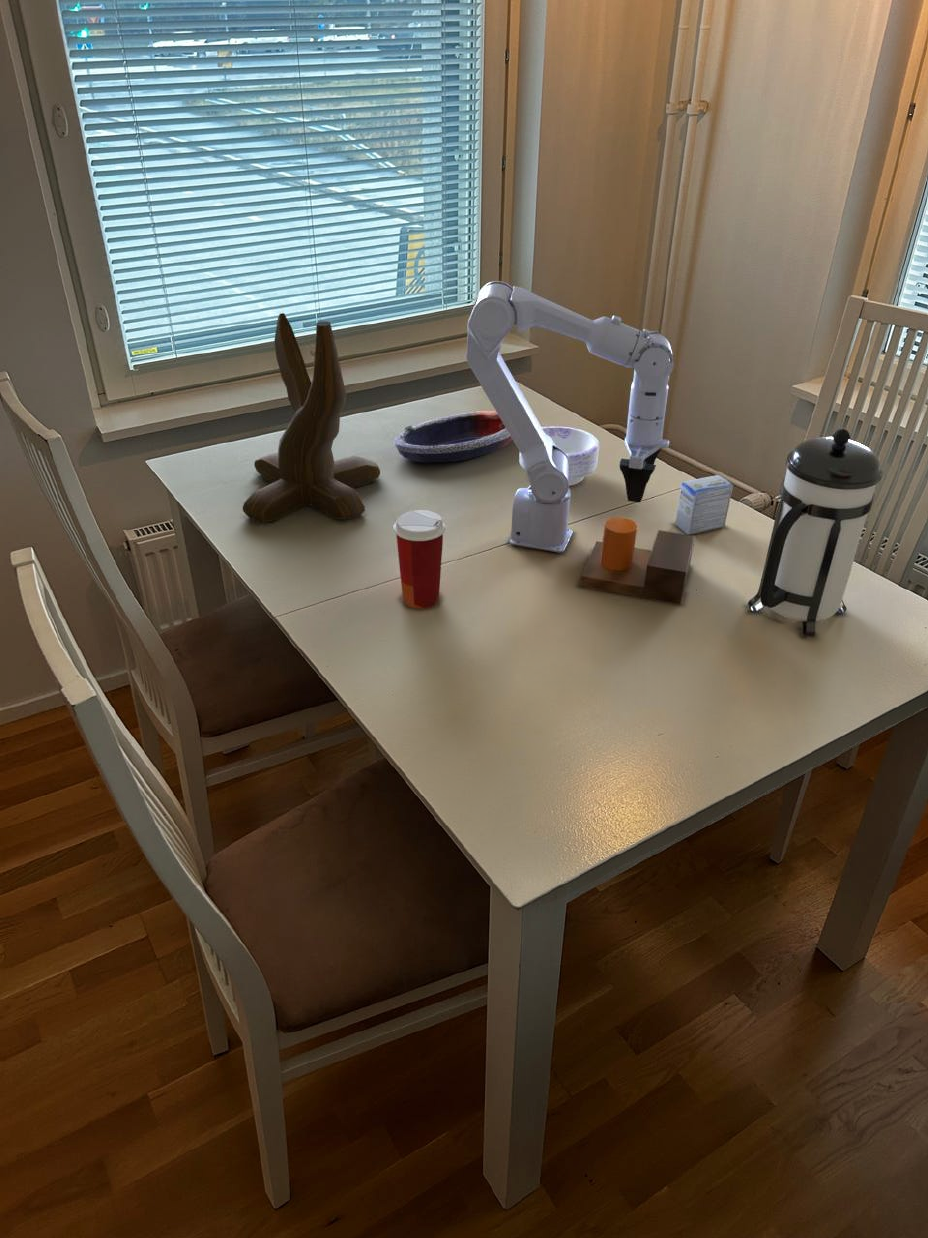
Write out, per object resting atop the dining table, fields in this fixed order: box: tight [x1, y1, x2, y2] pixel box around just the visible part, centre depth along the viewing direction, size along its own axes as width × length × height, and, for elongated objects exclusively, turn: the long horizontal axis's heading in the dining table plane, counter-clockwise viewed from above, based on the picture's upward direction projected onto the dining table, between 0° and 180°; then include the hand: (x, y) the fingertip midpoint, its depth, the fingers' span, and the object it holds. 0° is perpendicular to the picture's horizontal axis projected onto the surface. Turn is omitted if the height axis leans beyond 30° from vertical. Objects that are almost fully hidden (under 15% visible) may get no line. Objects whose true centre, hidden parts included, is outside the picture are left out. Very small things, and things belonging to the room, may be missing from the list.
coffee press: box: [747, 428, 884, 638], centre depth 133 cm, size 17×16×30 cm
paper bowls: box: [518, 426, 600, 487], centre depth 178 cm, size 15×15×8 cm
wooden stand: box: [242, 312, 381, 523], centre depth 164 cm, size 29×29×35 cm
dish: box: [394, 410, 513, 463], centre depth 190 cm, size 16×31×5 cm, turn 121°
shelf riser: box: [579, 529, 696, 605], centre depth 149 cm, size 16×12×6 cm
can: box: [600, 516, 638, 571], centre depth 148 cm, size 5×5×7 cm
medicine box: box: [674, 474, 734, 535], centre depth 162 cm, size 8×4×9 cm, turn 113°
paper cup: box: [392, 509, 446, 610], centre depth 140 cm, size 8×8×14 cm
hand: (638, 490), depth 153 cm, fingers open, 7 cm apart
